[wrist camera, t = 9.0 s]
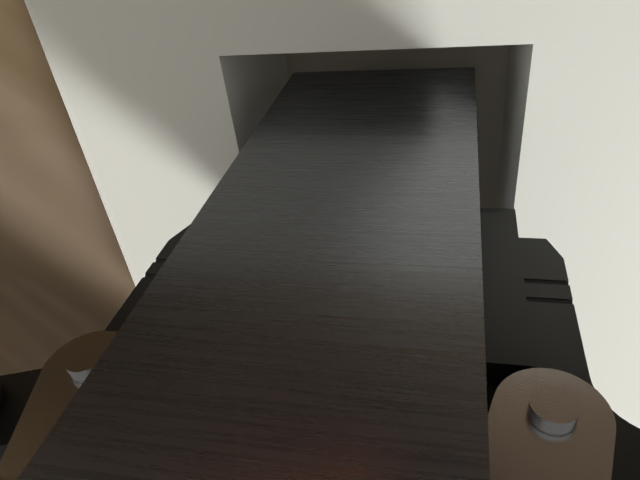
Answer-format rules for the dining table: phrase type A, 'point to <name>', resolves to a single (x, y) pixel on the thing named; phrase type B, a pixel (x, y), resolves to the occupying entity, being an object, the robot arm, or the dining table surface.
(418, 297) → the grey l-shaped block
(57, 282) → the dining table surface
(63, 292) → the dining table surface
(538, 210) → the well block
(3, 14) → the dining table surface
